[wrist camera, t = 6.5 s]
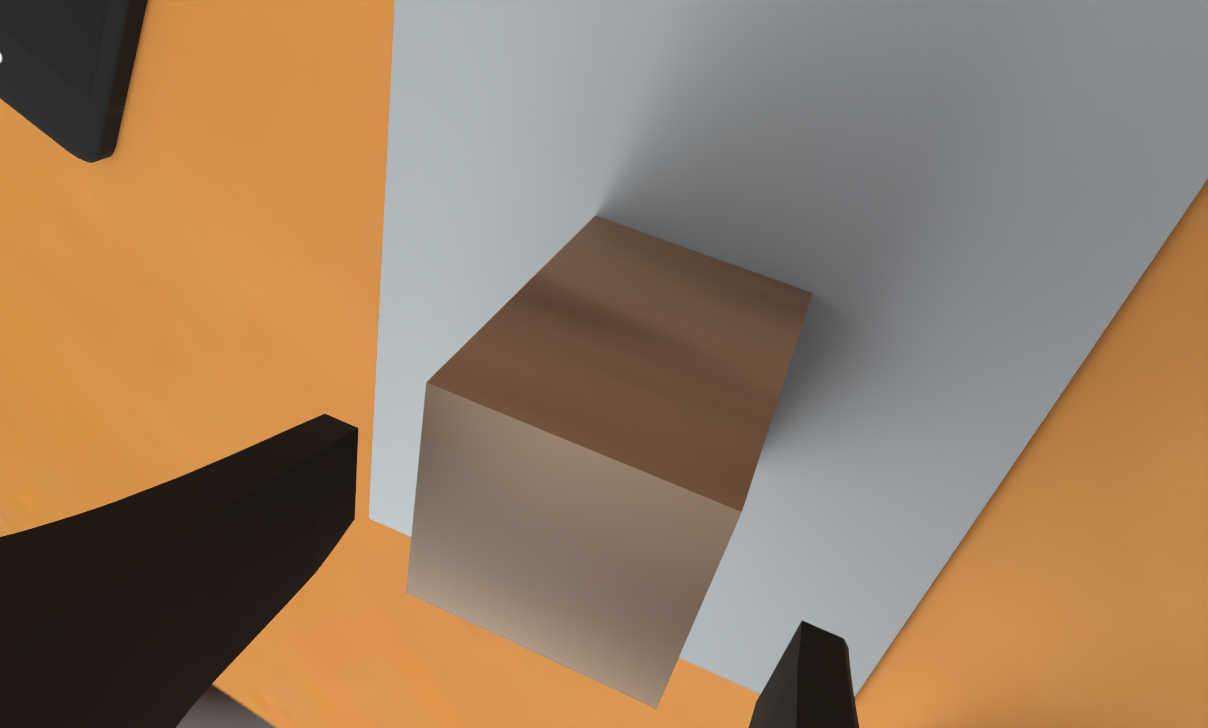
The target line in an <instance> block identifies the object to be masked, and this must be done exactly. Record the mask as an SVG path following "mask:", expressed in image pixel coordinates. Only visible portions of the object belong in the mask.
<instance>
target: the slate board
mask: <svg viewBox="0 0 1208 728" xmlns="http://www.w3.org/2000/svg"><path fill="white" fill-rule="evenodd" d="M1207 179H1208V0H395V10H394V30H393V50H392V69H391V89H390V109H389V129H388V149H387V169H386V188H385V208H384V228H383V248H382V268H381V287H380V307H379V327H378V347H377V367H376V387H375V406H374V426H373V446H372V466H371V486H370V505H369V518H370V519H372V520H374V521H377V522H379V523H381V524H383V525H385V526H388V527H390V528H392V529H394V530H397V531H399V532H401V533H403V534H405V535H408V536H410V537H411V535H412V525H413V514H414V504H415V494H416V483H417V473H418V462H419V452H420V442H421V431H422V421H423V411H424V400H425V390H426V382H427V381H428V380H429V379H430V378H431V377H432V376H433V375H434V374H435V373H436V372H437V371H438V370H439V369H440V368H441V367H442V366H443V365H444V364H445V363H446V362H447V361H448V360H449V359H450V358H451V357H452V356H453V355H454V354H455V353H456V352H457V351H458V350H459V349H460V348H461V347H463V346H464V345H465V344H466V343H467V342H468V341H469V340H470V339H471V338H472V337H473V336H474V335H475V334H476V333H477V332H478V331H479V330H480V329H481V328H482V327H483V326H484V325H485V324H486V323H487V322H488V321H489V320H490V319H491V318H492V317H493V316H494V315H495V314H496V313H497V312H498V311H499V310H500V309H501V308H502V307H503V306H504V305H505V304H506V303H507V302H508V301H509V300H510V299H511V298H512V297H513V296H514V295H515V294H516V293H517V292H518V291H519V290H520V289H521V288H522V287H523V286H524V285H525V284H526V283H527V282H528V281H529V280H530V279H531V278H532V277H533V276H534V275H535V274H536V273H537V272H538V271H539V270H540V269H542V268H543V267H544V266H545V265H546V264H547V263H548V262H549V261H550V260H551V259H552V258H553V257H554V256H555V255H556V254H557V253H558V252H559V251H560V250H561V249H562V248H563V247H564V246H565V245H566V244H567V243H568V242H569V241H570V240H571V239H572V238H573V237H574V236H575V235H576V234H577V233H578V232H579V231H580V230H581V229H582V228H583V227H584V226H585V225H586V224H587V223H588V222H589V221H590V220H591V219H592V218H593V217H594V216H598V217H601V218H604V219H606V220H609V221H612V222H615V223H618V224H620V225H623V226H626V227H629V228H632V229H635V230H637V231H640V232H643V233H646V234H649V235H651V236H654V237H657V238H660V239H663V240H665V241H668V242H671V243H674V244H677V245H679V246H682V247H685V248H688V249H691V250H693V251H696V252H699V253H702V254H705V255H708V256H710V257H713V258H716V259H719V260H722V261H724V262H727V263H730V264H733V265H736V266H738V267H741V268H744V269H747V270H750V271H752V272H755V273H758V274H761V275H764V276H766V277H769V278H772V279H775V280H778V281H780V282H783V283H786V284H789V285H792V286H795V287H797V288H800V289H803V290H806V291H809V292H811V293H812V296H811V299H810V303H809V306H808V309H807V312H806V315H805V318H804V321H803V324H802V327H801V330H800V334H799V337H798V340H797V343H796V346H795V349H794V352H793V355H792V358H791V361H790V365H789V368H788V371H787V374H786V377H785V380H784V383H783V386H782V389H781V393H780V396H779V399H778V402H777V405H776V408H775V411H774V414H773V417H772V420H771V424H770V427H769V430H768V433H767V436H766V439H765V442H764V445H763V448H762V451H761V455H760V458H759V461H758V464H757V467H756V470H755V473H754V476H753V479H752V482H751V486H750V489H749V492H748V495H747V498H746V501H745V504H744V507H743V510H742V513H741V515H740V518H739V520H738V522H737V525H736V527H735V529H734V532H733V534H732V536H731V538H730V541H729V543H728V545H727V548H726V550H725V552H724V555H723V557H722V559H721V561H720V564H719V566H718V568H717V571H716V573H715V575H714V578H713V580H712V582H711V584H710V587H709V589H708V591H707V594H706V596H705V598H704V600H703V603H702V605H701V607H700V610H699V612H698V614H697V617H696V619H695V621H694V623H693V626H692V628H691V630H690V633H689V635H688V637H687V640H686V642H685V644H684V646H683V649H682V651H681V653H680V656H679V658H681V659H683V660H685V661H688V662H690V663H692V664H694V665H697V666H699V667H701V668H703V669H705V670H708V671H710V672H712V673H714V674H717V675H719V676H721V677H723V678H725V679H728V680H730V681H732V682H734V683H737V684H739V685H741V686H743V687H745V688H748V689H750V690H752V691H754V692H757V693H759V694H761V693H762V691H763V689H764V687H765V686H766V684H767V682H768V680H769V679H770V677H771V675H772V673H773V671H774V670H775V668H776V666H777V664H778V662H779V661H780V659H781V657H782V655H783V653H784V652H785V650H786V648H787V646H788V644H789V643H790V641H791V639H792V637H793V635H794V634H795V632H796V630H797V628H798V626H799V625H800V623H801V621H805V622H807V623H809V624H812V625H814V626H816V627H818V628H821V629H823V630H825V631H828V632H830V633H832V634H835V635H837V636H839V637H842V638H844V639H845V641H846V643H847V645H848V648H849V659H850V669H851V677H852V685H853V692H854V697H855V696H856V694H857V693H858V691H859V690H860V689H861V687H862V686H863V684H864V683H865V681H866V680H867V678H868V677H869V675H870V674H871V672H872V671H873V669H874V668H875V666H876V665H877V664H878V662H879V661H880V659H881V658H882V656H883V655H884V653H885V652H886V650H887V649H888V647H889V646H890V644H891V643H892V642H893V640H894V639H895V637H896V636H897V634H898V633H899V631H900V630H901V628H902V627H903V625H904V624H905V622H906V621H907V620H908V618H909V617H910V615H911V614H912V612H913V611H914V609H915V608H916V606H917V605H918V603H919V602H920V600H921V599H922V597H923V596H924V595H925V593H926V592H927V590H928V589H929V587H930V586H931V584H932V583H933V581H934V580H935V578H936V577H937V575H938V574H939V573H940V571H941V570H942V568H943V567H944V565H945V564H946V562H947V561H948V559H949V558H950V556H951V555H952V553H953V552H954V551H955V549H956V548H957V546H958V545H959V543H960V542H961V540H962V539H963V537H964V536H965V534H966V533H967V531H968V530H969V529H970V527H971V526H972V524H973V523H974V521H975V520H976V518H977V517H978V515H979V514H980V512H981V511H982V509H983V508H984V506H985V505H986V504H987V502H988V501H989V499H990V498H991V496H992V495H993V493H994V492H995V490H996V489H997V487H998V486H999V484H1000V483H1001V482H1002V480H1003V479H1004V477H1005V476H1006V474H1007V473H1008V471H1009V470H1010V468H1011V467H1012V465H1013V464H1014V462H1015V461H1016V460H1017V458H1018V457H1019V455H1020V454H1021V452H1022V451H1023V449H1024V448H1025V446H1026V445H1027V443H1028V442H1029V440H1030V439H1031V437H1032V436H1033V435H1034V433H1035V432H1036V430H1037V429H1038V427H1039V426H1040V424H1041V423H1042V421H1043V420H1044V418H1045V417H1046V415H1047V414H1048V413H1049V411H1050V410H1051V408H1052V407H1053V405H1054V404H1055V402H1056V401H1057V399H1058V398H1059V396H1060V395H1061V393H1062V392H1063V391H1064V389H1065V388H1066V386H1067V385H1068V383H1069V382H1070V380H1071V379H1072V377H1073V376H1074V374H1075V373H1076V371H1077V370H1078V368H1079V367H1080V366H1081V364H1082V363H1083V361H1084V360H1085V358H1086V357H1087V355H1088V354H1089V352H1090V351H1091V349H1092V348H1093V346H1094V345H1095V344H1096V342H1097V341H1098V339H1099V338H1100V336H1101V335H1102V333H1103V332H1104V330H1105V329H1106V327H1107V326H1108V324H1109V323H1110V322H1111V320H1112V319H1113V317H1114V316H1115V314H1116V313H1117V311H1118V310H1119V308H1120V307H1121V305H1122V304H1123V302H1124V301H1125V299H1126V298H1127V297H1128V295H1129V294H1130V292H1131V291H1132V289H1133V288H1134V286H1135V285H1136V283H1137V282H1138V280H1139V279H1140V277H1141V276H1142V275H1143V273H1144V272H1145V270H1146V269H1147V267H1148V266H1149V264H1150V263H1151V261H1152V260H1153V258H1154V257H1155V255H1156V254H1157V253H1158V251H1159V250H1160V248H1161V247H1162V245H1163V244H1164V242H1165V241H1166V239H1167V238H1168V236H1169V235H1170V233H1171V232H1172V231H1173V229H1174V228H1175V226H1176V225H1177V223H1178V222H1179V220H1180V219H1181V217H1182V216H1183V214H1184V213H1185V211H1186V210H1187V208H1188V207H1189V206H1190V204H1191V203H1192V201H1193V200H1194V198H1195V197H1196V195H1197V194H1198V192H1199V191H1200V189H1201V188H1202V186H1203V185H1204V184H1205V182H1206V181H1207Z"/></svg>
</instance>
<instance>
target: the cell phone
mask: <svg viewBox="0 0 1208 728" xmlns="http://www.w3.org/2000/svg"><path fill="white" fill-rule="evenodd" d="M147 1H148V0H0V98H1V99H2V100H3V101H4V102H6V103H7V104H8V105H10V106H11V107H12V108H13V109H15V110H16V111H17V112H18V113H20V114H21V115H22V116H24V117H25V118H26V119H27V120H29V121H30V122H31V123H32V124H34V125H35V126H36V127H38V128H39V129H40V130H41V131H43V132H44V133H45V134H46V135H48V136H49V137H50V138H52V139H53V140H54V141H55V142H57V143H58V144H59V145H60V146H62V147H63V148H64V149H66V150H67V151H68V152H70V153H71V154H73V155H74V156H76V157H77V158H79V159H82V160H84V161H86V162H91V163H93V162H96V161H98V160H101V159H104V158H107V157H110V156H111V155H112V154H113V152H114V150H115V147H116V142H117V138H118V133H119V129H120V124H121V120H122V115H123V110H124V106H125V101H126V97H127V92H128V87H129V83H130V78H131V74H132V69H133V65H134V60H135V55H136V51H137V46H138V42H139V37H140V33H141V28H142V23H143V19H144V14H145V10H146V5H147Z"/></svg>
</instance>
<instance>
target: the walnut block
mask: <svg viewBox="0 0 1208 728" xmlns="http://www.w3.org/2000/svg"><path fill="white" fill-rule="evenodd" d="M811 296H812V293H811V292H809V291H806V290H803V289H800V288H797V287H795V286H792V285H789V284H786V283H783V282H780V281H778V280H775V279H772V278H769V277H766V276H764V275H761V274H758V273H755V272H752V271H750V270H747V269H744V268H741V267H738V266H736V265H733V264H730V263H727V262H724V261H722V260H719V259H716V258H713V257H710V256H708V255H705V254H702V253H699V252H696V251H693V250H691V249H688V248H685V247H682V246H679V245H677V244H674V243H671V242H668V241H665V240H663V239H660V238H657V237H654V236H651V235H649V234H646V233H643V232H640V231H637V230H635V229H632V228H629V227H626V226H623V225H620V224H618V223H615V222H612V221H609V220H606V219H604V218H601V217H598V216H594V217H593V218H592V219H591V220H590V221H589V222H588V223H587V224H586V225H585V226H584V227H583V228H582V229H581V230H580V231H579V232H578V233H577V234H576V235H575V236H574V237H573V238H572V239H571V240H570V241H569V242H568V243H567V244H566V245H565V246H564V247H563V248H562V249H561V250H560V251H559V252H558V253H557V254H556V255H555V256H554V257H553V258H552V259H551V260H550V261H549V262H548V263H547V264H546V265H545V266H544V267H543V268H542V269H540V270H539V271H538V272H537V273H536V274H535V275H534V276H533V277H532V278H531V279H530V280H529V281H528V282H527V283H526V284H525V285H524V286H523V287H522V288H521V289H520V290H519V291H518V292H517V293H516V294H515V295H514V296H513V297H512V298H511V299H510V300H509V301H508V302H507V303H506V304H505V305H504V306H503V307H502V308H501V309H500V310H499V311H498V312H497V313H496V314H495V315H494V316H493V317H492V318H491V319H490V320H489V321H488V322H487V323H486V324H485V325H484V326H483V327H482V328H481V329H480V330H479V331H478V332H477V333H476V334H475V335H474V336H473V337H472V338H471V339H470V340H469V341H468V342H467V343H466V344H465V345H464V346H463V347H461V348H460V349H459V350H458V351H457V352H456V353H455V354H454V355H453V356H452V357H451V358H450V359H449V360H448V361H447V362H446V363H445V364H444V365H443V366H442V367H441V368H440V369H439V370H438V371H437V372H436V373H435V374H434V375H433V376H432V377H431V378H430V379H429V380H428V381H427V382H426V390H425V400H424V411H423V421H422V431H421V442H420V452H419V462H418V473H417V483H416V494H415V504H414V514H413V525H412V535H411V545H410V556H409V566H408V577H407V587H406V593H408V594H410V595H412V596H414V597H417V598H419V599H421V600H423V601H425V602H427V603H429V604H432V605H434V606H436V607H438V608H440V609H442V610H445V611H447V612H449V613H451V614H453V615H455V616H457V617H460V618H462V619H464V620H466V621H468V622H470V623H473V624H475V625H477V626H479V627H481V628H483V629H485V630H488V631H490V632H492V633H494V634H496V635H498V636H501V637H503V638H505V639H507V640H509V641H511V642H513V643H516V644H518V645H520V646H522V647H524V648H526V649H529V650H531V651H533V652H535V653H537V654H539V655H541V656H544V657H546V658H548V659H550V660H552V661H554V662H557V663H559V664H561V665H563V666H565V667H567V668H570V669H572V670H574V671H576V672H578V673H580V674H582V675H585V676H587V677H589V678H591V679H593V680H595V681H598V682H600V683H602V684H604V685H606V686H608V687H610V688H613V689H615V690H617V691H619V692H621V693H623V694H626V695H628V696H630V697H632V698H634V699H636V700H638V701H641V702H643V703H645V704H647V705H649V706H651V707H654V708H656V709H657V706H658V704H659V702H660V699H661V697H662V695H663V692H664V690H665V688H666V686H667V683H668V681H669V679H670V676H671V674H672V672H673V669H674V667H675V665H676V663H677V660H678V658H679V656H680V653H681V651H682V649H683V646H684V644H685V642H686V640H687V637H688V635H689V633H690V630H691V628H692V626H693V623H694V621H695V619H696V617H697V614H698V612H699V610H700V607H701V605H702V603H703V600H704V598H705V596H706V594H707V591H708V589H709V587H710V584H711V582H712V580H713V578H714V575H715V573H716V571H717V568H718V566H719V564H720V561H721V559H722V557H723V555H724V552H725V550H726V548H727V545H728V543H729V541H730V538H731V536H732V534H733V532H734V529H735V527H736V525H737V522H738V520H739V518H740V515H741V513H742V510H743V507H744V504H745V501H746V498H747V495H748V492H749V489H750V486H751V482H752V479H753V476H754V473H755V470H756V467H757V464H758V461H759V458H760V455H761V451H762V448H763V445H764V442H765V439H766V436H767V433H768V430H769V427H770V424H771V420H772V417H773V414H774V411H775V408H776V405H777V402H778V399H779V396H780V393H781V389H782V386H783V383H784V380H785V377H786V374H787V371H788V368H789V365H790V361H791V358H792V355H793V352H794V349H795V346H796V343H797V340H798V337H799V334H800V330H801V327H802V324H803V321H804V318H805V315H806V312H807V309H808V306H809V303H810V299H811Z"/></svg>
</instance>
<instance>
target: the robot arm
mask: <svg viewBox="0 0 1208 728" xmlns="http://www.w3.org/2000/svg"><path fill="white" fill-rule="evenodd" d="M357 446H358V428H357V427H354V426H352V425H350V424H347V423H345V422H343V421H340V420H338V419H336V418H333V417H331V416H329V415H327V414H323V415H321V416H319V417H316V418H314V419H312V420H309V421H307V422H305V423H302V424H300V425H298V426H296V427H293V428H291V429H289V430H287V431H284V432H282V433H280V434H278V435H275V436H273V437H271V438H269V439H266V440H264V441H262V442H260V443H257V444H255V445H253V446H251V447H248V448H246V449H244V450H242V451H239V452H237V453H235V454H233V455H230V456H228V457H226V458H223V459H221V460H219V461H216V462H214V463H212V464H209V465H207V466H205V467H202V468H200V469H197V470H195V471H193V472H190V473H188V474H186V475H183V476H181V477H178V478H176V479H173V480H171V481H168V482H166V483H163V484H160V485H158V486H155V487H152V488H150V489H147V490H145V491H142V492H139V493H137V494H134V495H132V496H129V497H126V498H124V499H121V500H119V501H116V502H113V503H110V504H107V505H105V506H102V507H99V508H96V509H93V510H90V511H87V512H84V513H81V514H78V515H75V516H72V517H68V518H65V519H62V520H59V521H55V522H52V523H49V524H45V525H42V526H39V527H36V528H32V529H29V530H25V531H22V532H18V533H15V534H11V535H7V536H3V537H0V728H176V726H177V725H178V724H179V722H180V721H181V720H182V719H183V717H184V716H185V715H186V713H187V712H188V711H189V710H190V708H191V707H192V706H193V705H194V704H195V702H196V701H197V700H198V699H199V698H200V697H201V696H202V694H203V693H204V692H205V691H206V690H207V688H209V686H210V685H211V684H212V683H213V682H214V681H215V680H216V679H217V678H218V676H219V675H220V674H221V673H222V672H223V671H224V670H225V669H226V668H227V667H228V666H229V665H230V664H231V663H232V662H233V661H234V659H235V658H236V657H237V656H238V655H239V654H240V653H241V652H242V651H243V650H244V649H245V648H246V647H247V646H248V645H249V644H250V642H251V641H252V640H253V639H254V638H255V637H256V636H257V635H258V634H259V633H260V632H261V631H262V630H263V629H264V628H265V627H266V625H267V624H268V623H269V622H270V621H271V620H272V619H273V618H274V617H275V616H276V615H277V614H278V613H279V612H280V611H281V610H282V608H283V607H284V606H285V605H286V604H287V603H288V602H289V601H290V600H291V599H292V598H293V597H294V596H295V594H296V593H297V592H298V591H299V590H300V589H301V588H302V587H303V586H304V585H305V584H306V583H307V581H308V580H309V579H310V578H311V577H312V576H313V575H314V574H315V573H316V571H317V570H318V569H319V567H320V566H321V565H322V563H323V562H324V561H325V559H326V558H327V557H328V555H329V554H330V553H331V551H332V550H333V549H334V547H335V546H336V545H337V543H338V542H339V540H340V539H341V537H342V536H343V535H344V533H345V532H346V530H347V529H348V528H349V526H350V525H351V523H352V522H353V520H354V519H355V495H356V471H357ZM749 728H859V724H858V718H857V712H856V706H855V699H854V692H853V685H852V677H851V669H850V659H849V648H848V645H847V643H846V641H845V639H844V638H842V637H839V636H837V635H835V634H832V633H830V632H828V631H825V630H823V629H821V628H818V627H816V626H814V625H812V624H809V623H807V622H805V621H801V623H800V625H799V626H798V628H797V630H796V632H795V634H794V635H793V637H792V639H791V641H790V643H789V644H788V646H787V648H786V650H785V652H784V653H783V655H782V657H781V659H780V661H779V662H778V664H777V666H776V668H775V670H774V671H773V673H772V675H771V677H770V679H769V680H768V682H767V684H766V686H765V687H764V689H763V691H762V693H761V695H760V696H759V698H758V700H757V702H756V705H755V708H754V712H753V715H752V719H751V722H750V726H749Z"/></svg>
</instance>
